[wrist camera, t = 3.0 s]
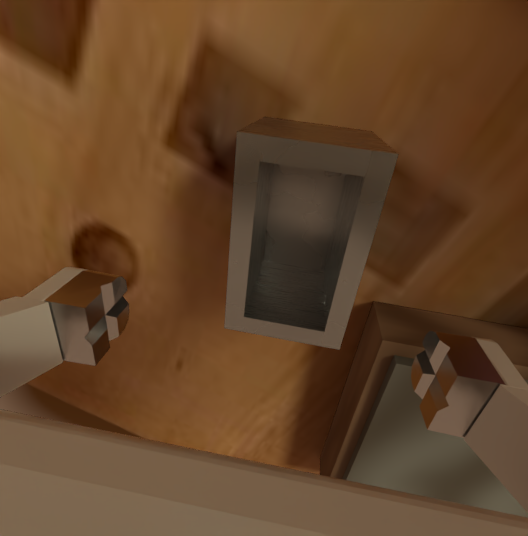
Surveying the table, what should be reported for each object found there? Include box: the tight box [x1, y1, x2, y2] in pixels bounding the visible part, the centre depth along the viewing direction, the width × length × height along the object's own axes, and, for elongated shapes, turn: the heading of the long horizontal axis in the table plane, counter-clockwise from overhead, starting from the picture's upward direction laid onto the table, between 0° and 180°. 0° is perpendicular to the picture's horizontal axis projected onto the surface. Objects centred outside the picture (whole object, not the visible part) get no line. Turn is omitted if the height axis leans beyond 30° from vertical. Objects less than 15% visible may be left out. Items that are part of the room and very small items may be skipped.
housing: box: [224, 117, 399, 350], centre depth 15 cm, size 5×8×6 cm, turn 174°
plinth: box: [320, 301, 528, 517], centre depth 21 cm, size 16×16×4 cm
